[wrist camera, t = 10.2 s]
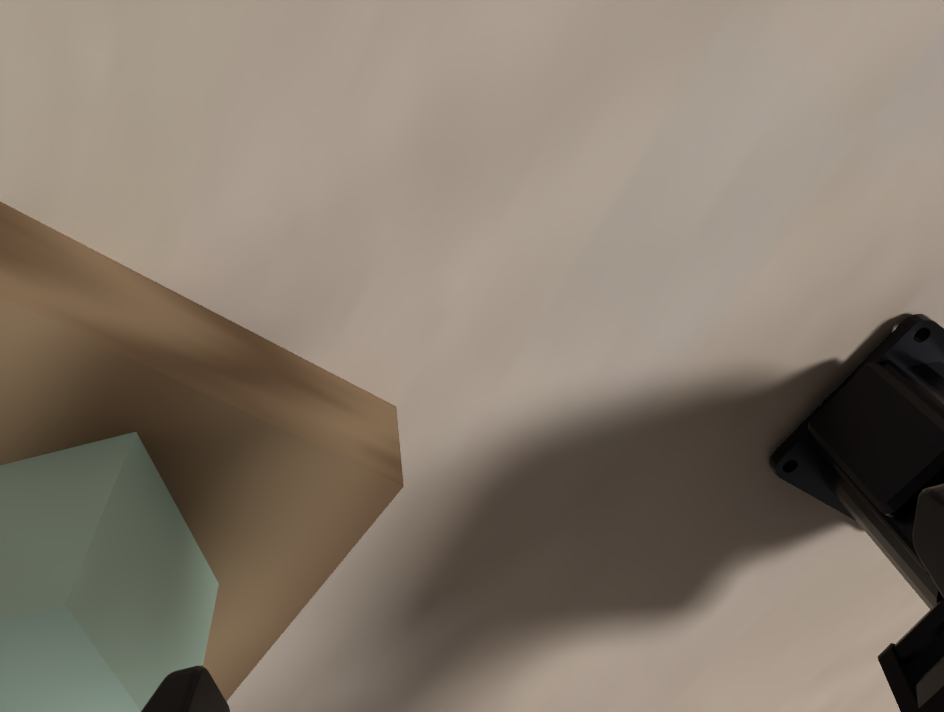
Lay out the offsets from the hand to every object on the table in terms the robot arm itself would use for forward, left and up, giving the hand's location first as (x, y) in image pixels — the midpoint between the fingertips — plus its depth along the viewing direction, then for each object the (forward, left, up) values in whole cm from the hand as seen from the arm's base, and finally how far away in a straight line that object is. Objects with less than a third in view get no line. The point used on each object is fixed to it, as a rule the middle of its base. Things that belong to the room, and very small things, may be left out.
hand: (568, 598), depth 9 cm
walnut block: (+4, +10, -13) cm, 17 cm away
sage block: (+5, +10, -8) cm, 14 cm away
